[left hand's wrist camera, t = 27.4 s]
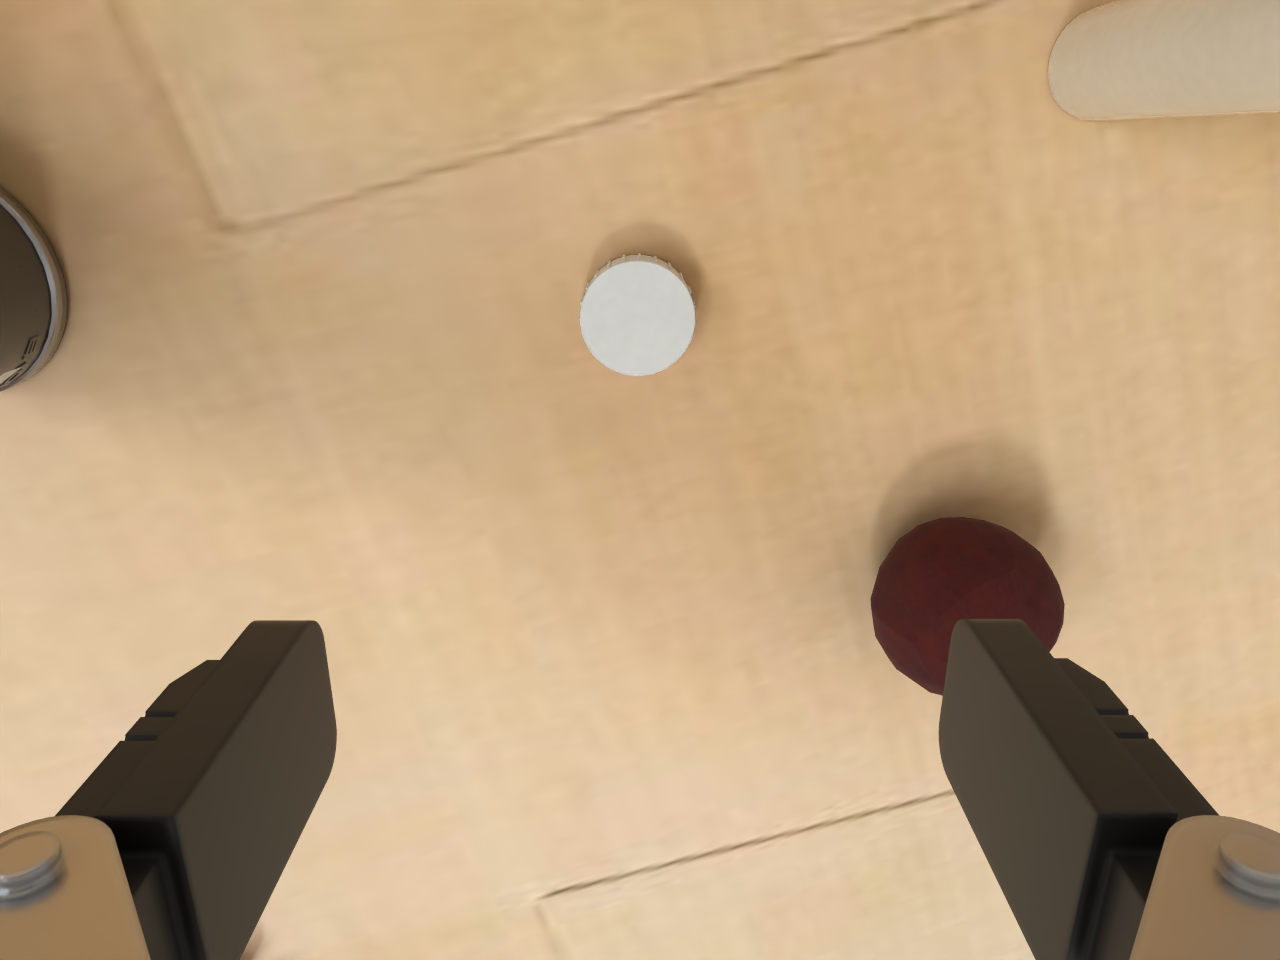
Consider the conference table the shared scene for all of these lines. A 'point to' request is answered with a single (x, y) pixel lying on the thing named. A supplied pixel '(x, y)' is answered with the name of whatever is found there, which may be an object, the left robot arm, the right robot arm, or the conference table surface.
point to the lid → (637, 315)
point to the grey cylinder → (1169, 60)
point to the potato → (958, 592)
